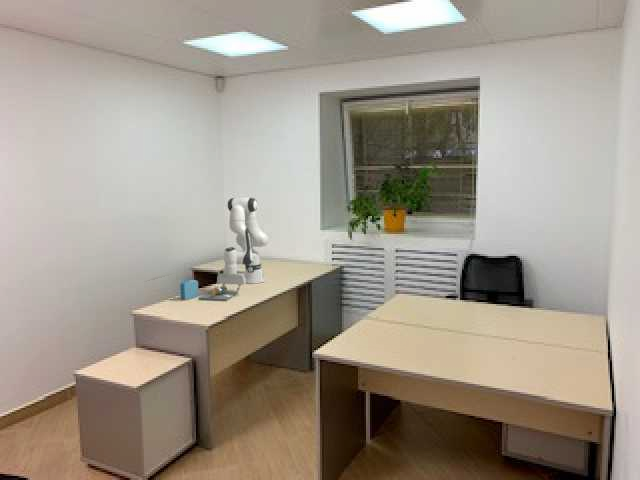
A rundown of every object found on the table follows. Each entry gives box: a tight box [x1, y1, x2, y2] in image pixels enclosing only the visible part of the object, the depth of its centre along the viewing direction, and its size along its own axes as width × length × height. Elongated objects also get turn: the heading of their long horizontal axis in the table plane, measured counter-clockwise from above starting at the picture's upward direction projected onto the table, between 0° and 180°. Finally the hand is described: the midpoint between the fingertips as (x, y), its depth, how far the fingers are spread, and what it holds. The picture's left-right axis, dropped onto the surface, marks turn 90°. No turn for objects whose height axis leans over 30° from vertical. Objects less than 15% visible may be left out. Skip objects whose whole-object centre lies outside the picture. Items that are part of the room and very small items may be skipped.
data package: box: [179, 279, 200, 301], centre depth 335 cm, size 12×4×12 cm, turn 145°
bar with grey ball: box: [211, 284, 227, 296], centre depth 339 cm, size 20×6×5 cm, turn 168°
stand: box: [198, 289, 239, 302], centre depth 340 cm, size 22×21×2 cm
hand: (231, 290), depth 343 cm, fingers open, 8 cm apart
